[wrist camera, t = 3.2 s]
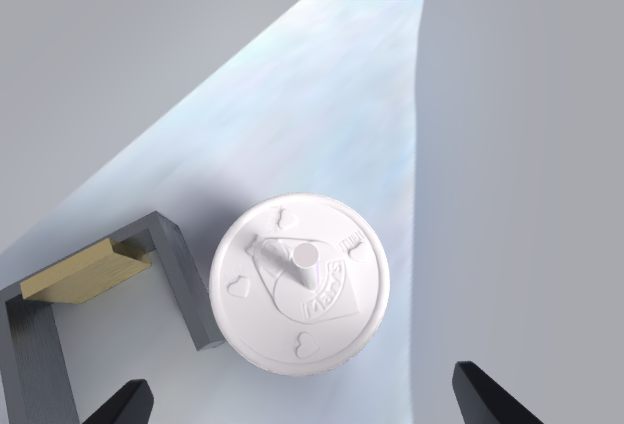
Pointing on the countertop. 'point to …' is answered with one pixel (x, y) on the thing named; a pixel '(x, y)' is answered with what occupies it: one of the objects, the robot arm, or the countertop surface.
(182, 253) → the bracket
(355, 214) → the smoothie
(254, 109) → the countertop surface
